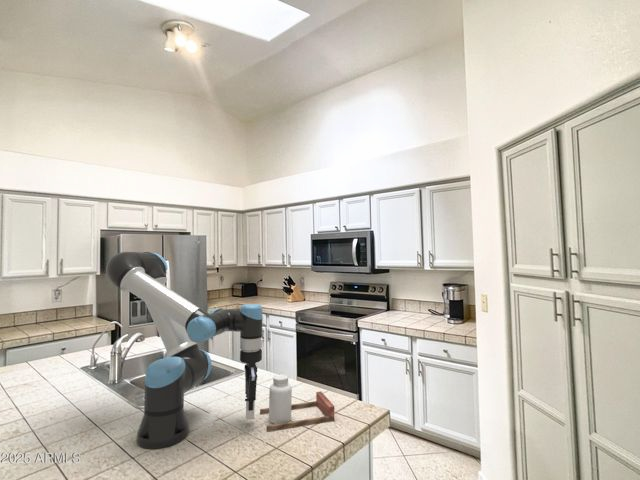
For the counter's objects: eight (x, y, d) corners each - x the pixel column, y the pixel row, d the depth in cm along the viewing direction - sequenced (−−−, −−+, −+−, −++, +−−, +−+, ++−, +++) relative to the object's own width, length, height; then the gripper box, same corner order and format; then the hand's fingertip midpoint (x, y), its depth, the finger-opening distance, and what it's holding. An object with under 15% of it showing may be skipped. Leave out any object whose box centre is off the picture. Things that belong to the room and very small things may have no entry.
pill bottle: (280, 427, 115) (281, 382, 116) (264, 420, 120) (264, 377, 121) (295, 418, 121) (296, 376, 122) (279, 412, 126) (280, 371, 127)
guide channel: (267, 431, 112) (267, 416, 112) (260, 413, 125) (260, 399, 125) (334, 420, 120) (334, 406, 120) (321, 404, 133) (321, 391, 133)
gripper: (265, 353, 113) (264, 425, 112) (258, 343, 126) (257, 408, 124) (242, 355, 111) (241, 429, 110) (238, 345, 123) (237, 411, 122)
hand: (250, 418), depth 117 cm, fingers closed
